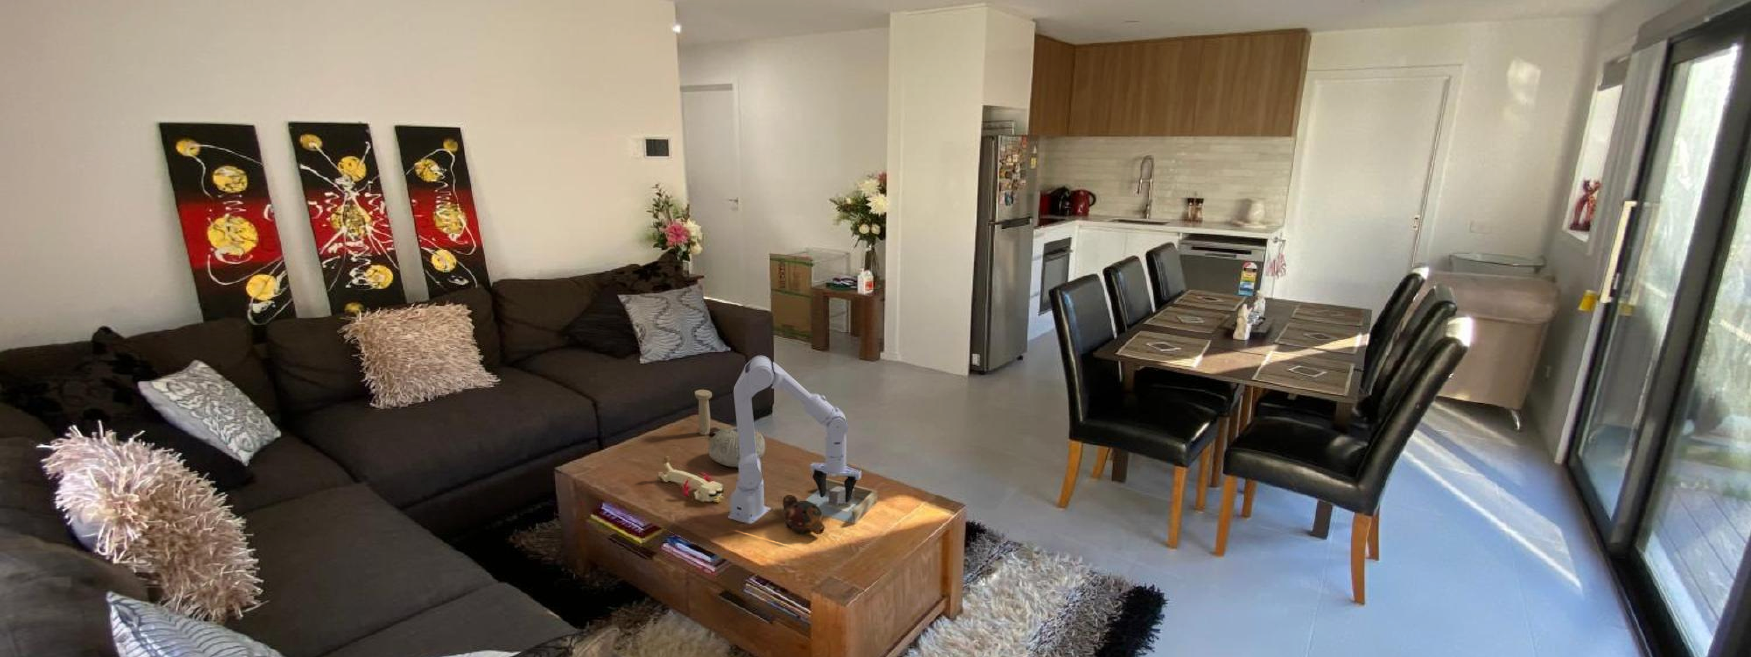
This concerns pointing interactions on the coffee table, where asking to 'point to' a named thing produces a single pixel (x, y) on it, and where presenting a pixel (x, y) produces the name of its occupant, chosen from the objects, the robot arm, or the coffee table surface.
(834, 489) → the bracket
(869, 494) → the walls
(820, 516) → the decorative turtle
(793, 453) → the coffee table surface
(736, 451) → the decorative shell
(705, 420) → the handle
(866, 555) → the coffee table surface
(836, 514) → the board
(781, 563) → the coffee table surface
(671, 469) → the cream blocky elongated figure
